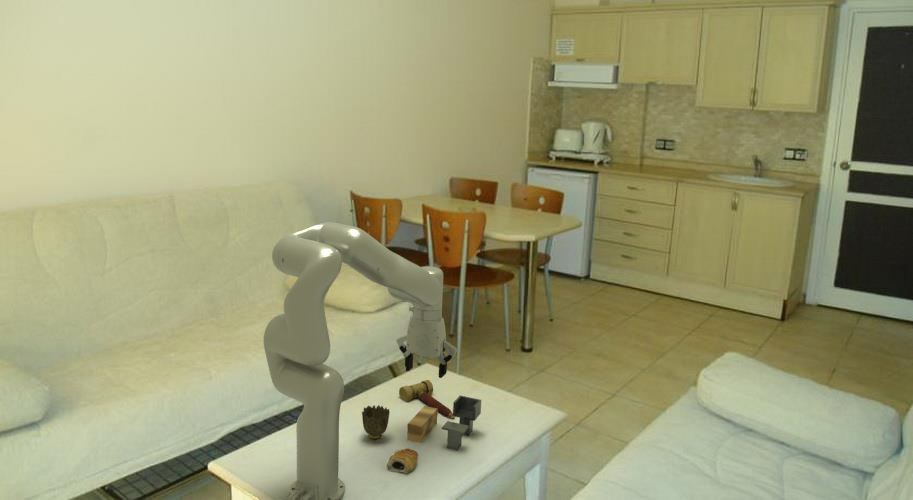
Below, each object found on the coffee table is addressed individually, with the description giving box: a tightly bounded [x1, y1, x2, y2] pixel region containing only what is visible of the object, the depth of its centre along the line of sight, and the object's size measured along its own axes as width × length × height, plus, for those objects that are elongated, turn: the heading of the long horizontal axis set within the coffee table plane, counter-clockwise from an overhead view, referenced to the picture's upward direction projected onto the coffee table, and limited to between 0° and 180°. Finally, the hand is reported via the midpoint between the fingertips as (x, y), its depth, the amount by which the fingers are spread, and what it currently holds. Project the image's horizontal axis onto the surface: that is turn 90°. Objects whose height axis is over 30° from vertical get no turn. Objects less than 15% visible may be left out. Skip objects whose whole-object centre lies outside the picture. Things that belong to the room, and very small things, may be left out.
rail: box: [406, 405, 438, 444], centre depth 197 cm, size 12×4×5 cm, turn 161°
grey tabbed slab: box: [441, 420, 468, 452], centre depth 190 cm, size 4×6×6 cm, turn 69°
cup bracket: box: [452, 395, 482, 437], centre depth 197 cm, size 5×6×10 cm
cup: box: [361, 404, 391, 441], centre depth 192 cm, size 8×7×8 cm
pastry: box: [386, 447, 419, 474], centre depth 180 cm, size 9×7×4 cm
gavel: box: [398, 379, 456, 420], centre depth 213 cm, size 21×5×10 cm
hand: (425, 372), depth 194 cm, fingers open, 9 cm apart
